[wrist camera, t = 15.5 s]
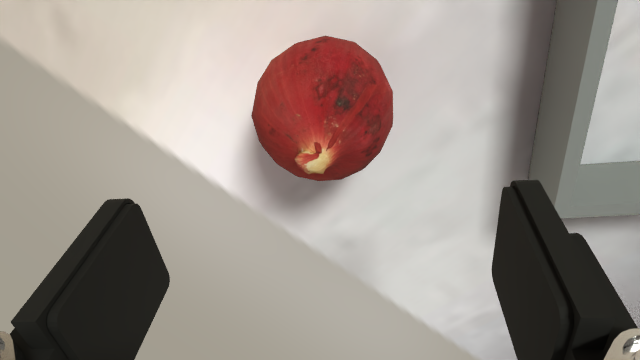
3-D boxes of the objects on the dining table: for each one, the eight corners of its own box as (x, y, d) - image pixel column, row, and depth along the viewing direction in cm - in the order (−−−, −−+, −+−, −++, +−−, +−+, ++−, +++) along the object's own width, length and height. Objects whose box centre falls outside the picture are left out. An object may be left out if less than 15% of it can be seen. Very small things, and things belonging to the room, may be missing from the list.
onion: (312, -11, 20) (295, 44, 13) (411, 65, 21) (440, 148, 15) (245, 90, 22) (203, 178, 16) (338, 150, 24) (335, 253, 18)
